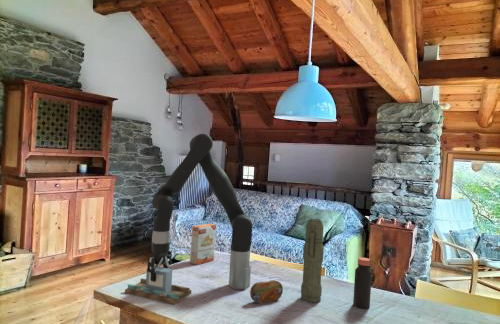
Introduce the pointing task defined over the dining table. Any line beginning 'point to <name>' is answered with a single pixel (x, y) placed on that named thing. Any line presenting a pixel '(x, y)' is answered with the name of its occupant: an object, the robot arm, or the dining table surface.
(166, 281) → the carton
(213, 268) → the dining table surface
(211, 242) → the cracker box
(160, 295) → the brown flat frame
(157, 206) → the robot arm
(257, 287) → the tin
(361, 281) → the bottle
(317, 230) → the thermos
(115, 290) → the dining table surface
